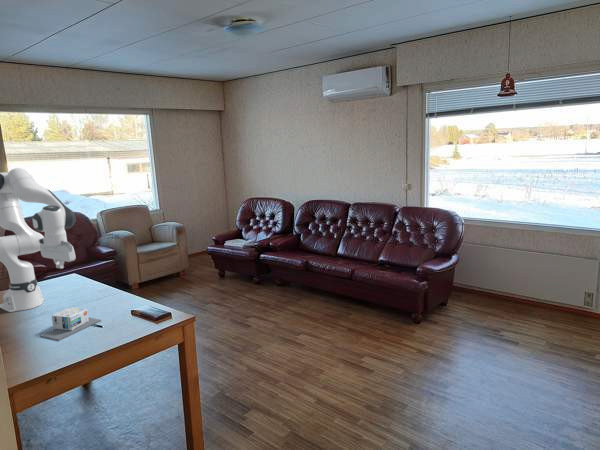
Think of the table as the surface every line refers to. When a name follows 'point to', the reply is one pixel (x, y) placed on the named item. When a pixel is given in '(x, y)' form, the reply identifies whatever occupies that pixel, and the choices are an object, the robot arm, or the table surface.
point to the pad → (61, 334)
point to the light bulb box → (70, 318)
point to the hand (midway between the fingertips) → (60, 268)
